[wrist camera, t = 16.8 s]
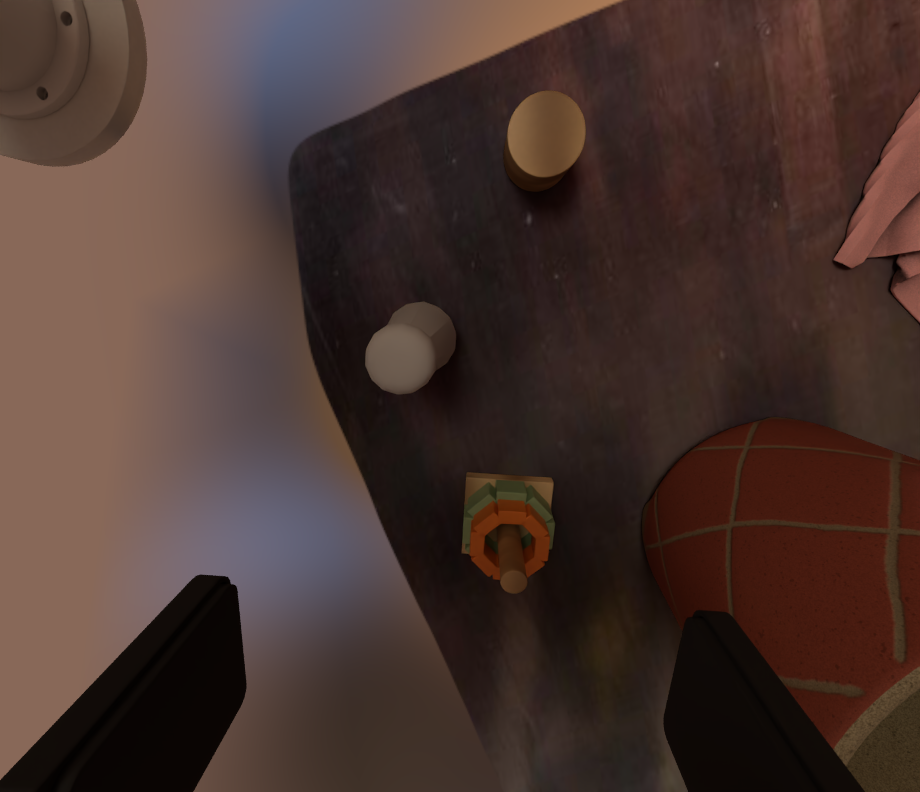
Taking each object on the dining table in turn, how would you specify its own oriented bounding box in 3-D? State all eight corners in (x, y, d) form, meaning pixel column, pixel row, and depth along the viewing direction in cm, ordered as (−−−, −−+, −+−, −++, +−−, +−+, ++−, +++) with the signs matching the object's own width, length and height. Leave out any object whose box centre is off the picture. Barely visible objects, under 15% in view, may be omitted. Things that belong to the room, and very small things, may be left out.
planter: (715, 657, 45) (954, 1037, 22) (579, 507, 41) (701, 783, 19) (925, 531, 41) (1491, 850, 18) (794, 350, 37) (1301, 462, 14)
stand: (500, 190, 35) (504, 175, 30) (505, 116, 33) (510, 88, 28) (566, 193, 34) (580, 179, 30) (574, 119, 33) (590, 91, 28)
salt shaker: (380, 314, 37) (331, 331, 25) (442, 290, 37) (424, 295, 24) (406, 377, 39) (372, 423, 26) (466, 354, 38) (461, 391, 25)
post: (462, 546, 43) (457, 623, 33) (466, 471, 41) (462, 531, 31) (543, 551, 43) (562, 631, 33) (551, 477, 41) (574, 538, 31)
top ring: (468, 563, 39) (468, 577, 37) (472, 497, 38) (472, 508, 36) (541, 568, 39) (545, 583, 37) (549, 502, 37) (553, 514, 35)
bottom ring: (461, 553, 42) (460, 569, 39) (466, 477, 40) (465, 489, 37) (545, 559, 42) (549, 575, 39) (553, 483, 40) (558, 495, 37)
